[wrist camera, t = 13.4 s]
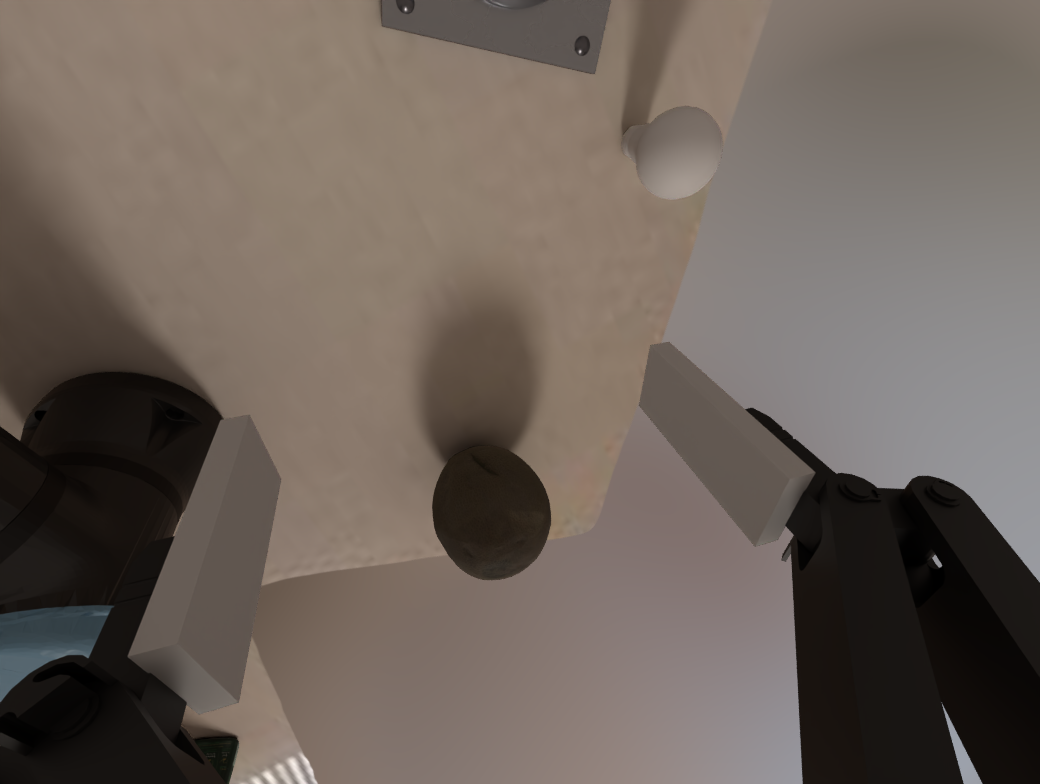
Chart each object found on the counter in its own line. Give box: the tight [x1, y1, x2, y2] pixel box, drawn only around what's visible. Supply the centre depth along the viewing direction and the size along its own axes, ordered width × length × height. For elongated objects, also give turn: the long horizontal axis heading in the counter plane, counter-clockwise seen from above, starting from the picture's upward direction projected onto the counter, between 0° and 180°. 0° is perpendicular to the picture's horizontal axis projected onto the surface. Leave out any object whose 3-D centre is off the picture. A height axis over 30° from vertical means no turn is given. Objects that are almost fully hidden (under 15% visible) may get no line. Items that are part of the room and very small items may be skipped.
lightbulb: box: [621, 106, 723, 199], centre depth 35 cm, size 6×6×11 cm
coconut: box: [432, 446, 551, 580], centre depth 52 cm, size 14×14×15 cm
